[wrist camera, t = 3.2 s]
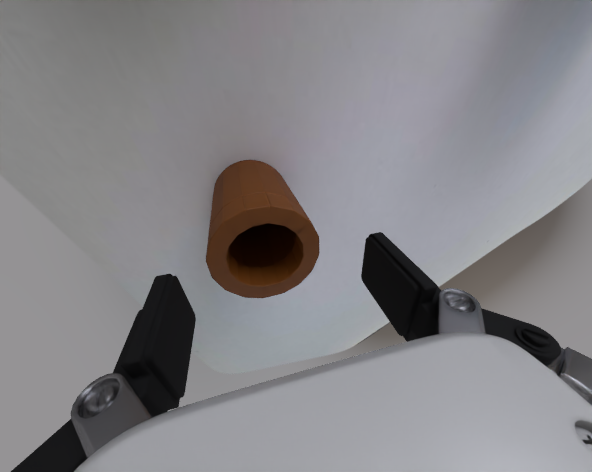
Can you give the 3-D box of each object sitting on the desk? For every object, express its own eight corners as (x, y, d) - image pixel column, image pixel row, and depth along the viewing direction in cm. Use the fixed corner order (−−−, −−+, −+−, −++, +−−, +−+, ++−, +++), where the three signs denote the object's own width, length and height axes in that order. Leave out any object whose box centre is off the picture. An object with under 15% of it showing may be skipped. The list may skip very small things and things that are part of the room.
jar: (199, 204, 19) (183, 275, 12) (241, 143, 18) (253, 181, 10) (259, 237, 22) (275, 309, 15) (299, 188, 21) (340, 242, 13)
